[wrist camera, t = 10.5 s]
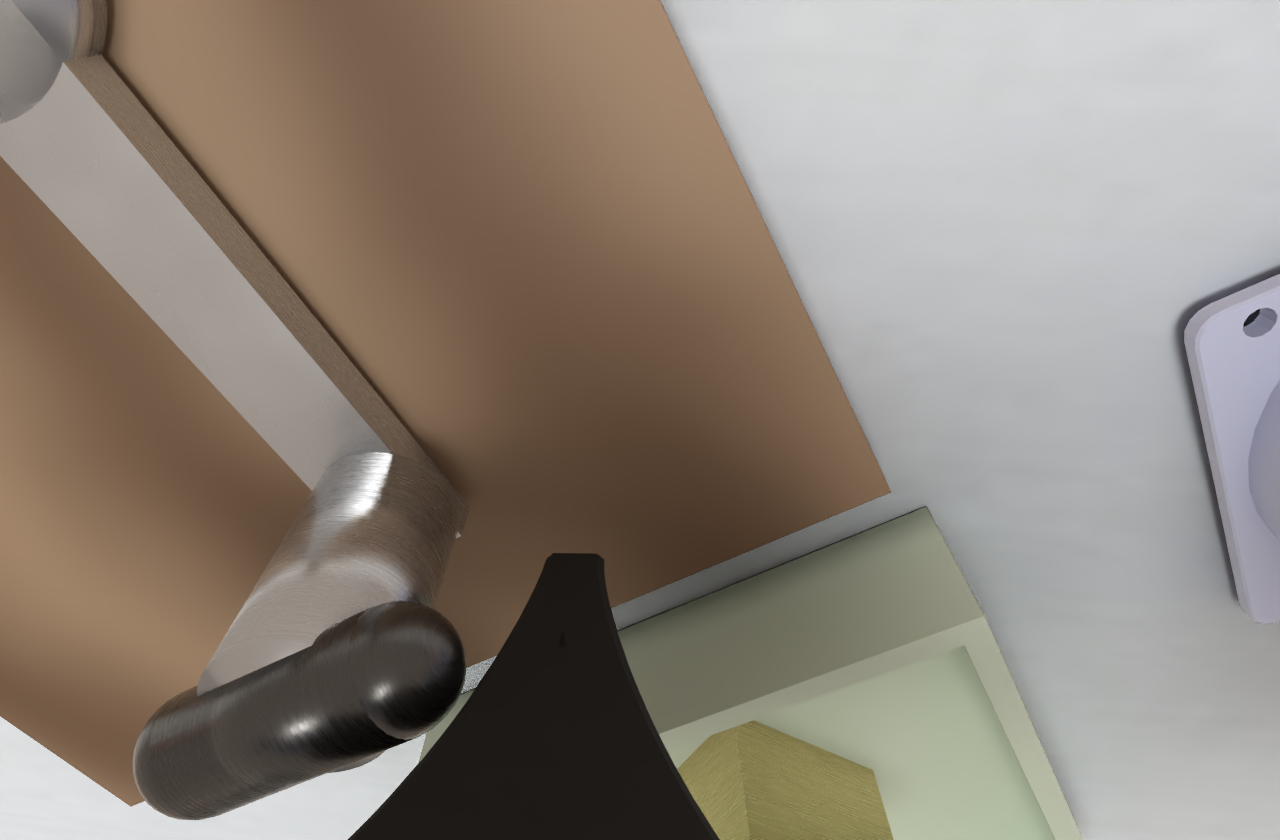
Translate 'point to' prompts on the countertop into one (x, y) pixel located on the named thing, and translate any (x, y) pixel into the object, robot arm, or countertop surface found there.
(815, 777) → the block
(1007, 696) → the tray
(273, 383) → the crank
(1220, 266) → the countertop surface
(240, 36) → the crank plate
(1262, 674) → the countertop surface
